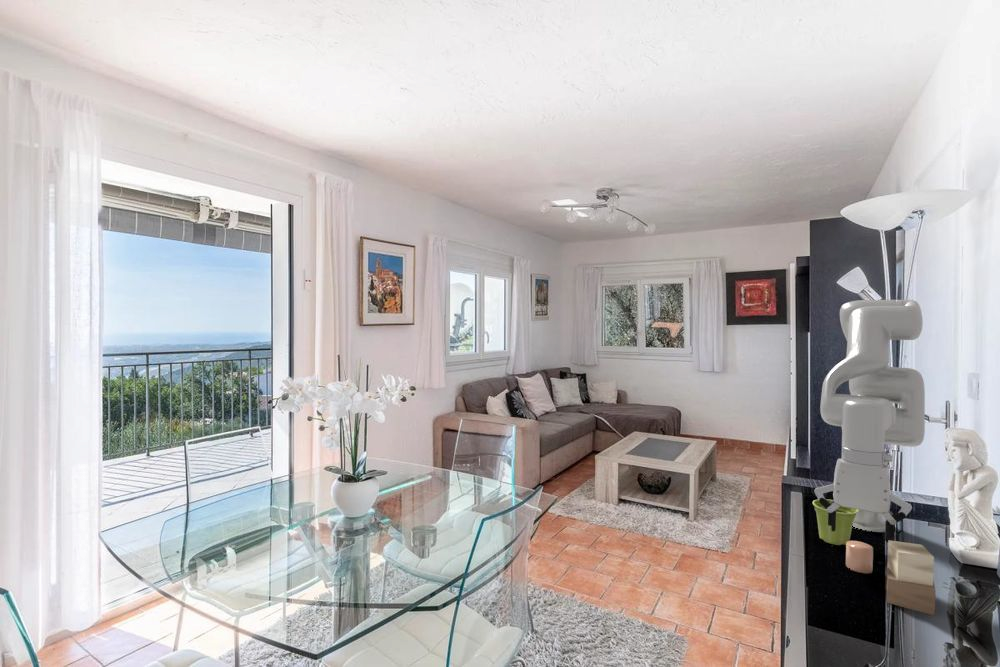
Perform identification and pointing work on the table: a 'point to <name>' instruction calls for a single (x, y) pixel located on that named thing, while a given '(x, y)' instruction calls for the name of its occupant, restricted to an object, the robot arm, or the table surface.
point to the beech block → (910, 562)
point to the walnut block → (910, 594)
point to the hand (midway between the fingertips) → (859, 534)
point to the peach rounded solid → (859, 556)
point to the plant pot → (842, 523)
